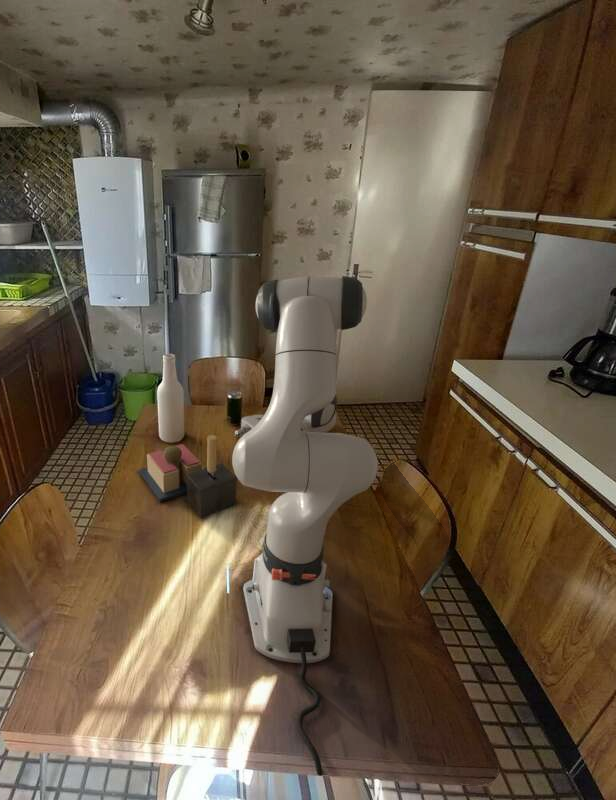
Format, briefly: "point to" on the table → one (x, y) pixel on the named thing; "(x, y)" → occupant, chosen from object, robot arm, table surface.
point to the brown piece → (174, 458)
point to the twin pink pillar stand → (169, 473)
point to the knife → (211, 455)
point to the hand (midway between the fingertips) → (245, 442)
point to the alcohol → (170, 403)
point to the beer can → (234, 407)
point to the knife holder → (211, 490)
